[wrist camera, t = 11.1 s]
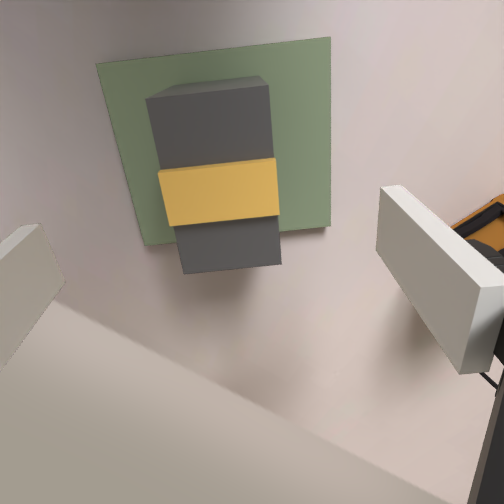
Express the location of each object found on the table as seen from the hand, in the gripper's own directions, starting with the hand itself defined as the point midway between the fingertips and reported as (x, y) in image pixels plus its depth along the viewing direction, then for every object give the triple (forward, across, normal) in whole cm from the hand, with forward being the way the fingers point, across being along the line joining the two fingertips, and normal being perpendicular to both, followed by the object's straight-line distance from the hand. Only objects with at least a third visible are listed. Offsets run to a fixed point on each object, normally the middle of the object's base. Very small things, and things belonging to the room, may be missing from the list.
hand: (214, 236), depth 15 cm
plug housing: (+15, 0, 0) cm, 15 cm away
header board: (+16, 0, -1) cm, 17 cm away
